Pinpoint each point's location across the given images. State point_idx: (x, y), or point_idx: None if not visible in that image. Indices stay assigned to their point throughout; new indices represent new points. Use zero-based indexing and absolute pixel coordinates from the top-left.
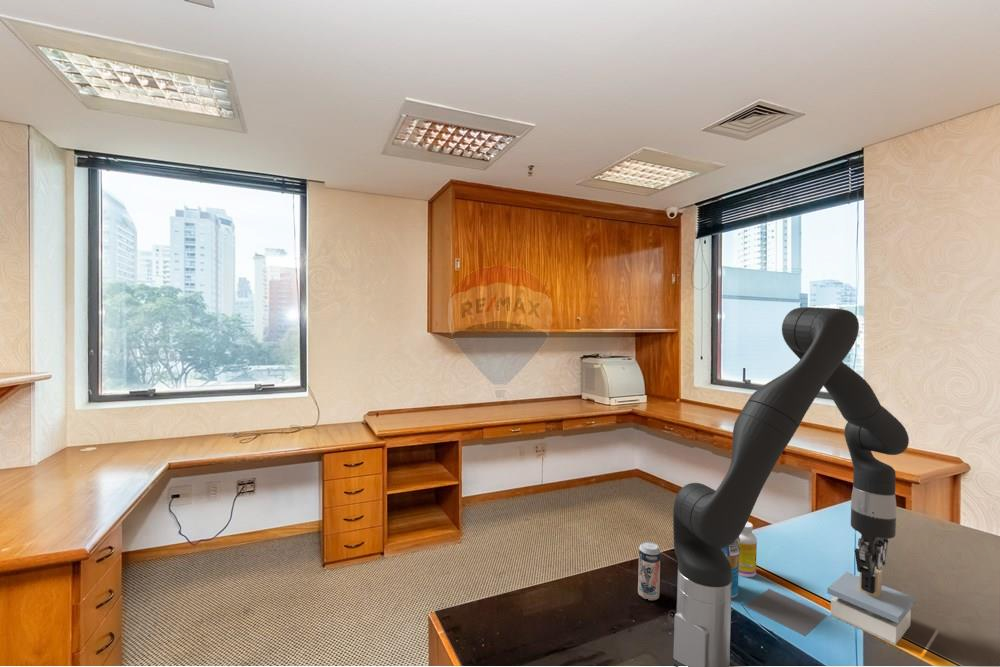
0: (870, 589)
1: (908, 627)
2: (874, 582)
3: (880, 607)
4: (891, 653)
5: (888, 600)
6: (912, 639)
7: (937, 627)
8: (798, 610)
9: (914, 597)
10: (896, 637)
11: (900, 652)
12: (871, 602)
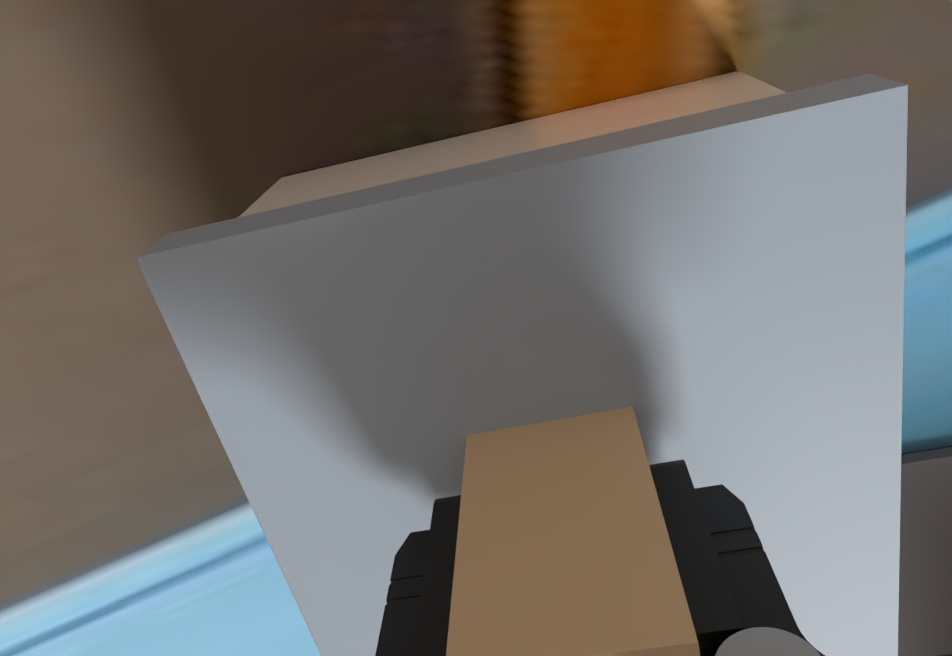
0: (737, 503)
1: (335, 168)
2: (715, 558)
3: (843, 293)
4: (872, 36)
5: (556, 336)
6: (459, 75)
7: (37, 84)
8: (917, 574)
9: (138, 258)
10: (737, 87)
11: (781, 13)
12: (805, 386)
